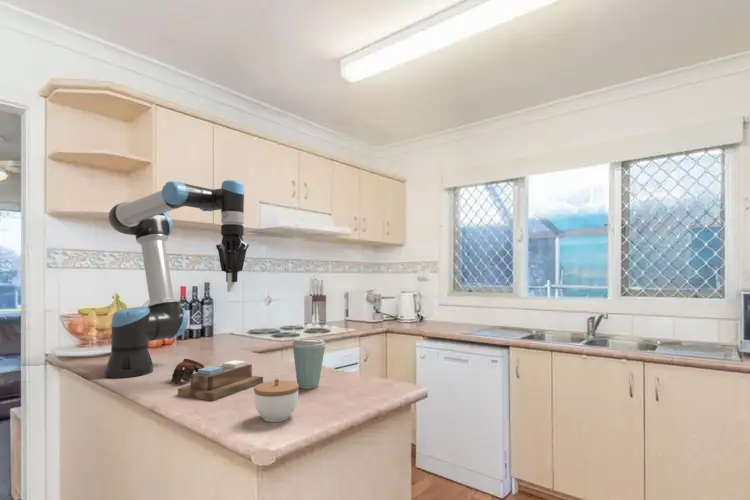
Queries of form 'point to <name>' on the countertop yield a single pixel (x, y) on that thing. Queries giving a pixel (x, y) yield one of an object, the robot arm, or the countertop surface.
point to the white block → (234, 364)
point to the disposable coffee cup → (308, 361)
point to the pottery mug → (185, 370)
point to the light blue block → (210, 370)
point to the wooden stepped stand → (220, 383)
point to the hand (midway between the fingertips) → (231, 291)
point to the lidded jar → (276, 399)
